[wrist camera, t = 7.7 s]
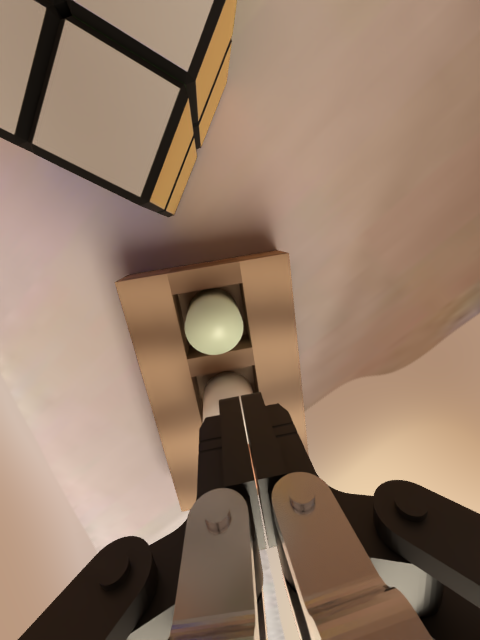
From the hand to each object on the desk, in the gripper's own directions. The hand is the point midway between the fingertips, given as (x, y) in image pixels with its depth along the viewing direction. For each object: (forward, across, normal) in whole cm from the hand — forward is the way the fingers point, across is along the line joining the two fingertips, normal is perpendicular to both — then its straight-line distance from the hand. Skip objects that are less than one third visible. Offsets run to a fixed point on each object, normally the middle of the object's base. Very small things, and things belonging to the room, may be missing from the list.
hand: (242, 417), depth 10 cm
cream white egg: (+12, +1, +6) cm, 13 cm away
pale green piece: (+14, +1, 0) cm, 14 cm away
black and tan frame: (+15, +4, -14) cm, 21 cm away
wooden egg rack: (+15, +1, +6) cm, 16 cm away
